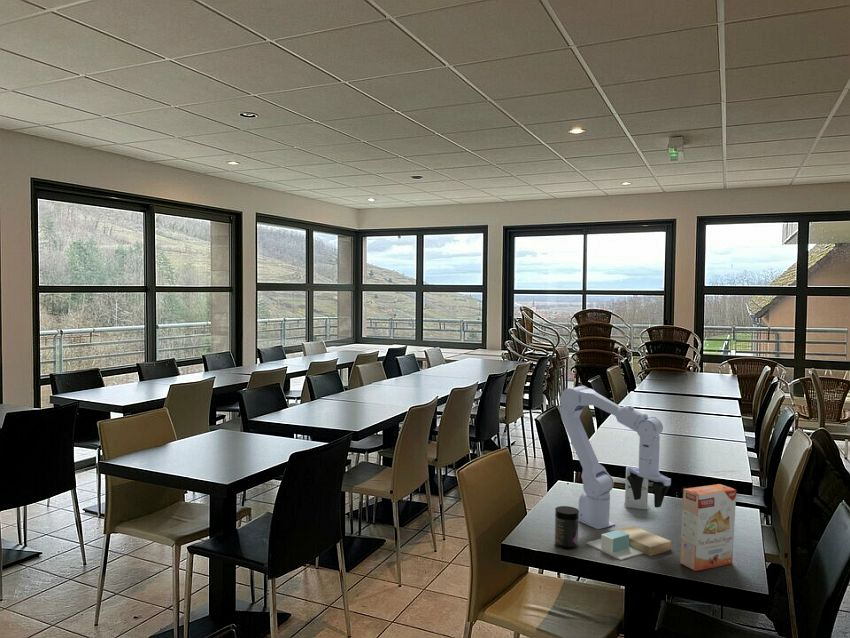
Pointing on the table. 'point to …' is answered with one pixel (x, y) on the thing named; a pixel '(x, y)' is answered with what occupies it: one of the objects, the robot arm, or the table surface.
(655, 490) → the robot arm
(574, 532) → the supplement container
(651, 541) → the oak slab
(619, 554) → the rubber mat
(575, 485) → the table surface
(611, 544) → the teal block
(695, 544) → the cracker box
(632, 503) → the supplement box
